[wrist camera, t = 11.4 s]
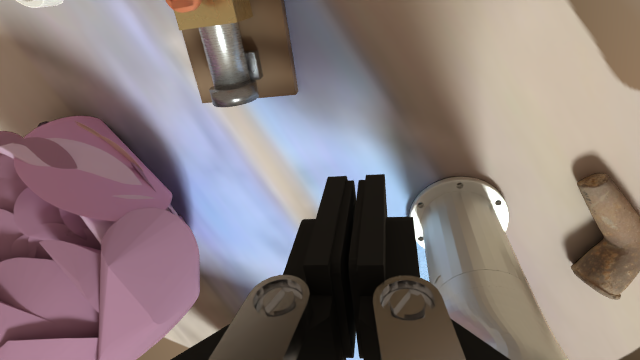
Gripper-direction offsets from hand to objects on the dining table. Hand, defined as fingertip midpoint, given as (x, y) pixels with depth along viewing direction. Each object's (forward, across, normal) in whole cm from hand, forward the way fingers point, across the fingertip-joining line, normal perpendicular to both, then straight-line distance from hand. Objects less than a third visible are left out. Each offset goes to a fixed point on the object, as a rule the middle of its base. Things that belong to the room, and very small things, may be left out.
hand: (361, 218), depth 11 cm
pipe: (+36, -26, +26) cm, 51 cm away
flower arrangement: (+35, +40, +19) cm, 57 cm away
